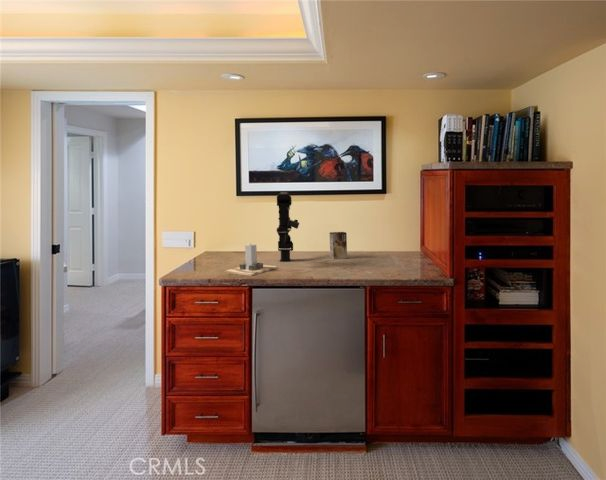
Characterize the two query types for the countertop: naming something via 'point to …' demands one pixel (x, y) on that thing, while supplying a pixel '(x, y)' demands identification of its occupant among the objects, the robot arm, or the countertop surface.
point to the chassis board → (251, 269)
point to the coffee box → (338, 245)
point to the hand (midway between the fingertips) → (284, 243)
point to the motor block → (250, 255)
